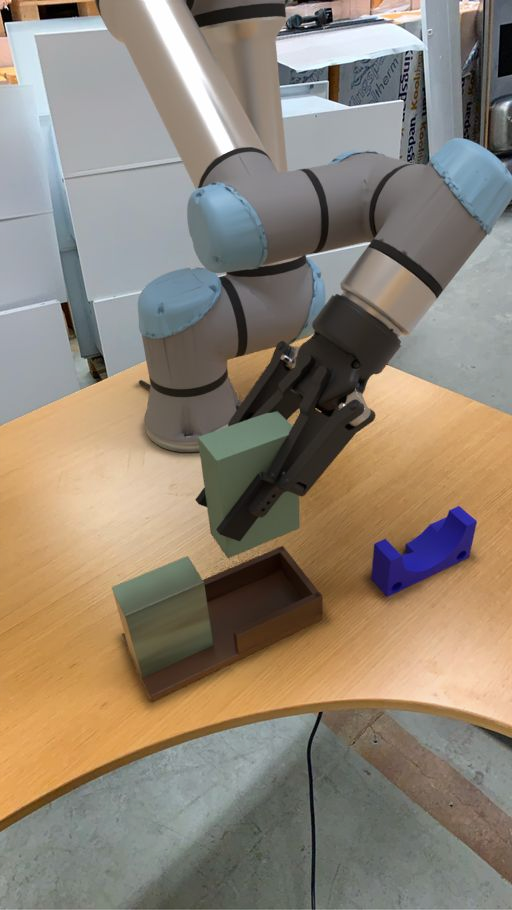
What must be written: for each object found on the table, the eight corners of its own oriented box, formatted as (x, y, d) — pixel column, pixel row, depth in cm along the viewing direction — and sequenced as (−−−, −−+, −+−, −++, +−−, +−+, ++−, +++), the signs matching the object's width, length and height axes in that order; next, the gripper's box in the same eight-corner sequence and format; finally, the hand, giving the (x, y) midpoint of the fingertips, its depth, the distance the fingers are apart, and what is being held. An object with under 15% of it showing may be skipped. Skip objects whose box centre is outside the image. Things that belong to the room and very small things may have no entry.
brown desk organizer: (123, 639, 71) (103, 571, 64) (283, 568, 78) (281, 500, 71) (151, 702, 65) (132, 634, 58) (322, 619, 72) (323, 550, 65)
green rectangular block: (210, 533, 65) (197, 436, 58) (280, 505, 68) (276, 409, 61) (228, 559, 62) (216, 460, 55) (299, 528, 65) (298, 430, 58)
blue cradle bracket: (443, 534, 81) (450, 498, 77) (469, 557, 78) (477, 521, 74) (363, 571, 77) (366, 535, 73) (386, 597, 74) (390, 560, 70)
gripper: (456, 375, 54) (287, 588, 58) (340, 301, 66) (207, 482, 70) (411, 334, 49) (229, 570, 53) (294, 262, 61) (154, 459, 65)
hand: (217, 519), depth 62 cm, fingers closed on green rectangular block, 4 cm apart
